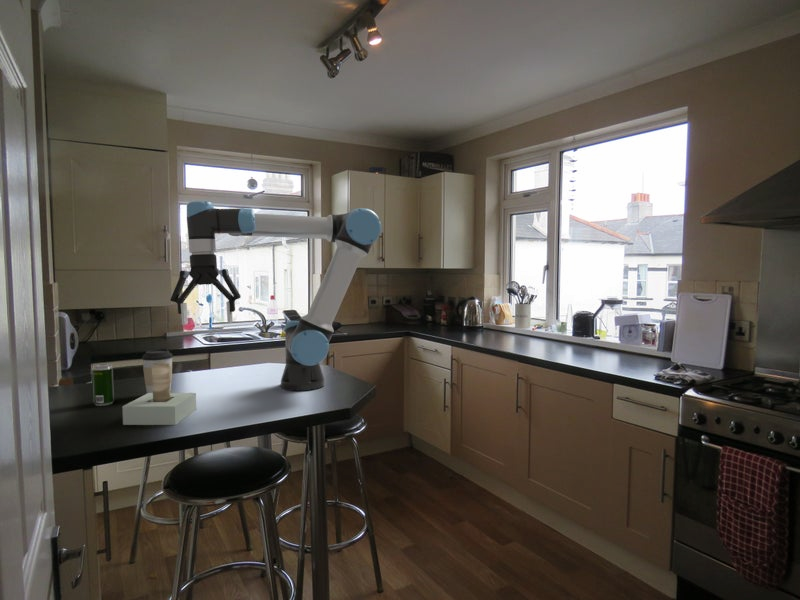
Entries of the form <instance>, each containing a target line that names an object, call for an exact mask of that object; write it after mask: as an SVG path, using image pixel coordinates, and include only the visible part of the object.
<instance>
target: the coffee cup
mask: <svg viewBox="0 0 800 600" xmlns="http://www.w3.org/2000/svg"><path fill="white" fill-rule="evenodd" d="M141 360H142V364H143V365H142V370H143V376H144V378H143V379H144V384H145V390H146V394H147V393H153V384H152V364H155V363H169V371H170V393H172V392H171V389H172V388H171V387H172V386H171V385H172V376H173V353H172V352H170V351H169V350H168V349H167V348H162V347H161V348H159V349H152V350H148V351H145V353H144V354H143V355H142V358H141Z"/></svg>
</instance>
